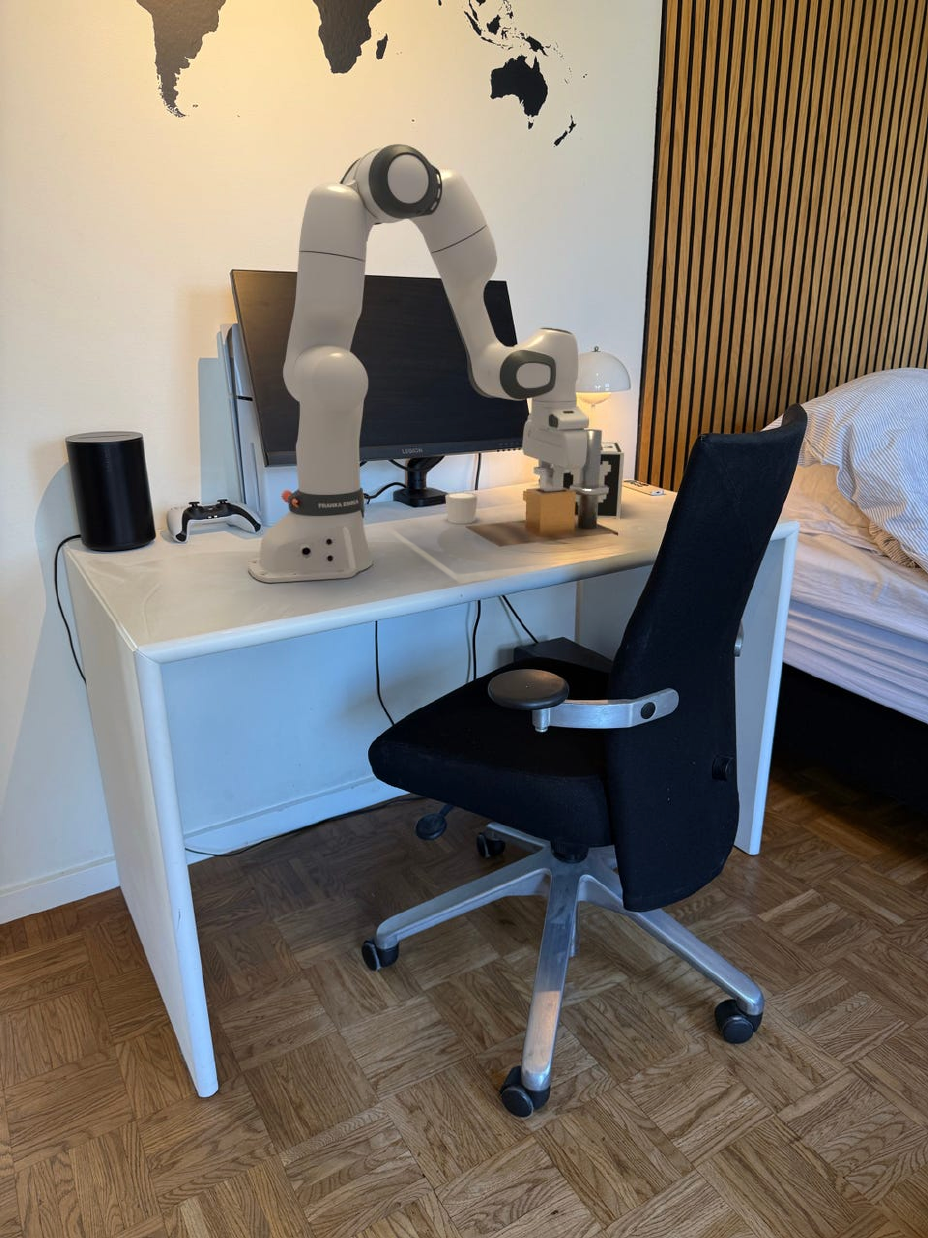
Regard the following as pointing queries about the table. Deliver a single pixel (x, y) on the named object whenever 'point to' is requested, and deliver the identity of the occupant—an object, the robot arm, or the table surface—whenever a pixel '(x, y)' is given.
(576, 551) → the table surface
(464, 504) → the white short cylinder
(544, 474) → the wedge pin
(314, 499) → the robot arm
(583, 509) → the ringlock node
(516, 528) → the base board
